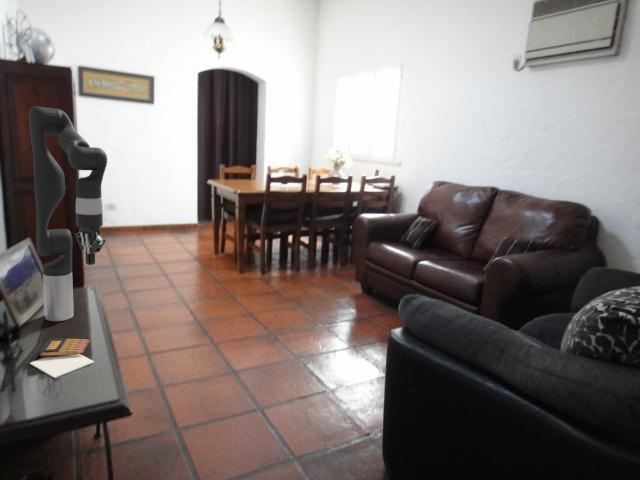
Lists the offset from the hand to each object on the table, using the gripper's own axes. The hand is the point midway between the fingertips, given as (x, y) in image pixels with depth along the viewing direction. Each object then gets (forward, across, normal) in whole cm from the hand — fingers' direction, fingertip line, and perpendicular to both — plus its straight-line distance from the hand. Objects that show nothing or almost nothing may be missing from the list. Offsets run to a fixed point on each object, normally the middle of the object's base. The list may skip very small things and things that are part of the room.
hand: (90, 264), depth 143 cm
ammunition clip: (+26, +4, +13) cm, 29 cm away
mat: (+27, -7, +14) cm, 31 cm away
